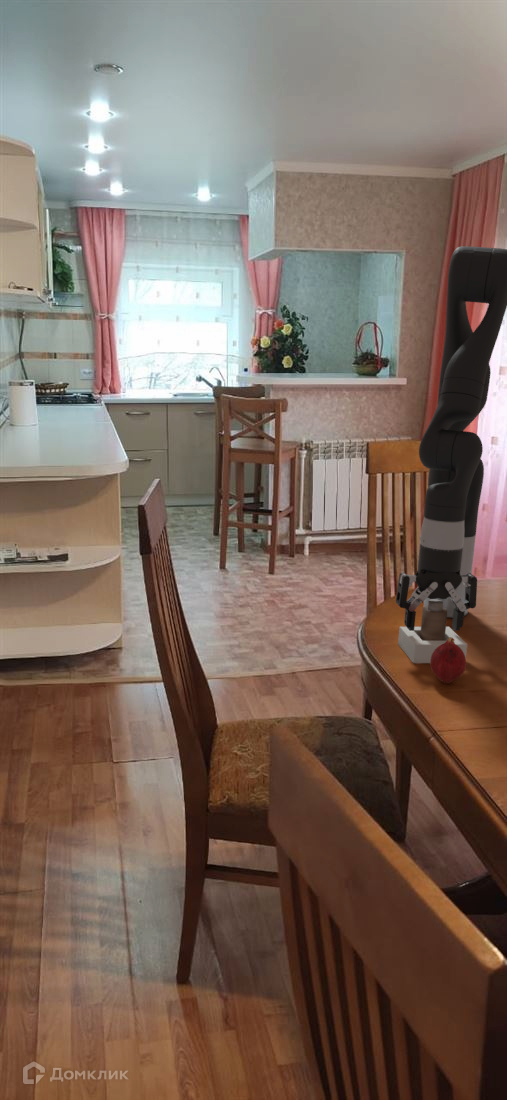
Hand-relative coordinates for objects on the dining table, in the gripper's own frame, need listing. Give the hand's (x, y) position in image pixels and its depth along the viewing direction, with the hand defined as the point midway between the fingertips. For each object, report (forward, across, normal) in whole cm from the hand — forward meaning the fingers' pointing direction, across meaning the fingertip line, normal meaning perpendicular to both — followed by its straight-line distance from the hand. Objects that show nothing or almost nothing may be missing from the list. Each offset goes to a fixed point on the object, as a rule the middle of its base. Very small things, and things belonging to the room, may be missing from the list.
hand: (433, 629), depth 153 cm
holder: (+5, 0, 0) cm, 5 cm away
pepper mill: (+5, 0, 0) cm, 5 cm away
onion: (+5, -2, -14) cm, 15 cm away
